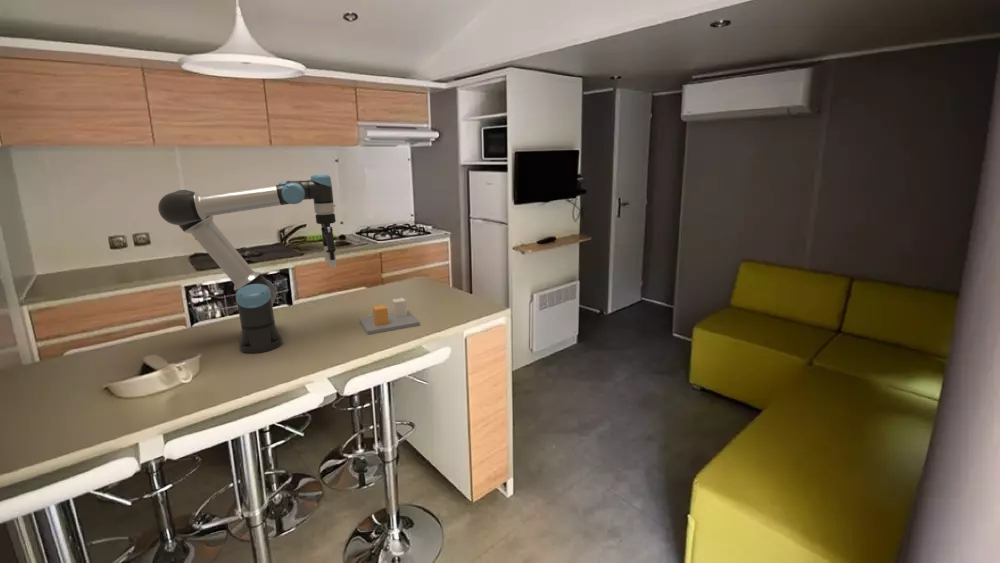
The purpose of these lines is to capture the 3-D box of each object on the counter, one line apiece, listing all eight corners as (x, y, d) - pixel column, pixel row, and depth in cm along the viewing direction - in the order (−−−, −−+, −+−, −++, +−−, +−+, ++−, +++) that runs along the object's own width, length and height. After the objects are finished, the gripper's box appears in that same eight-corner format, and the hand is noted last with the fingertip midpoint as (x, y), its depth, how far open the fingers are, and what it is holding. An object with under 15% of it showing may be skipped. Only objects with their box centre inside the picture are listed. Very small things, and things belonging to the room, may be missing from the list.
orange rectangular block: (376, 325, 202) (375, 309, 201) (374, 322, 207) (372, 306, 205) (388, 323, 205) (387, 308, 203) (385, 320, 209) (384, 304, 207)
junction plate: (367, 334, 197) (365, 314, 195) (359, 321, 213) (357, 302, 210) (419, 325, 206) (418, 306, 204) (408, 313, 222) (406, 295, 220)
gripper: (339, 216, 188) (344, 269, 193) (330, 209, 209) (335, 257, 215) (318, 217, 185) (325, 271, 190) (312, 210, 206) (318, 259, 212)
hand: (330, 264), depth 203 cm, fingers open, 13 cm apart
